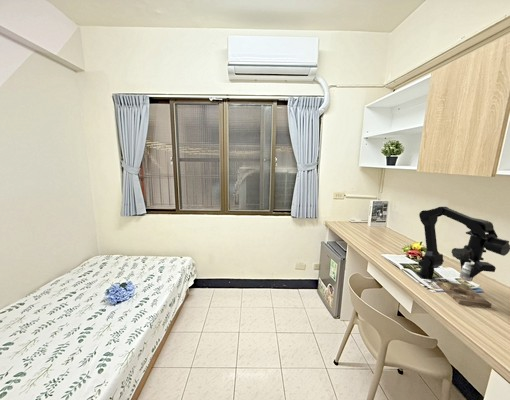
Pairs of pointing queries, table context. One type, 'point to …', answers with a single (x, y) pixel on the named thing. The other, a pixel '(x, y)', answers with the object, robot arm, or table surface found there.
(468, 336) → the table surface
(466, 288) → the pin board
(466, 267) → the pill bottle
